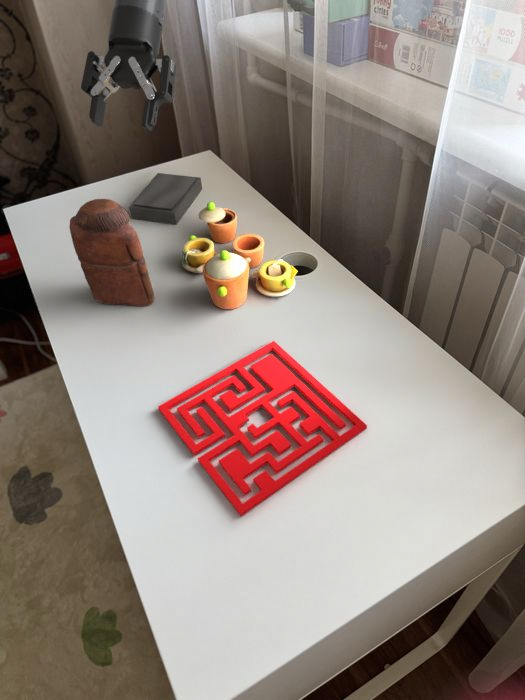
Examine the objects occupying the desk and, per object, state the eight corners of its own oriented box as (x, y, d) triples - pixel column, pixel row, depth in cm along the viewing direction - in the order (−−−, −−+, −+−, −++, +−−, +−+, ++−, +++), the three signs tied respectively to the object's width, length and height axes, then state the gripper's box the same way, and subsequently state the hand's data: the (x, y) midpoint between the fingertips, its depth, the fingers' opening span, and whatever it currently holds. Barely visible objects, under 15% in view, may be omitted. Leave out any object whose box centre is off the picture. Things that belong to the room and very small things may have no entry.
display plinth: (131, 218, 108) (127, 205, 106) (160, 184, 117) (157, 171, 115) (176, 224, 106) (174, 211, 104) (202, 189, 115) (200, 176, 113)
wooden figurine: (163, 285, 93) (141, 191, 80) (153, 310, 88) (127, 215, 75) (99, 281, 94) (67, 189, 81) (86, 305, 90) (49, 212, 77)
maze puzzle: (158, 409, 74) (157, 406, 73) (274, 343, 81) (273, 340, 81) (241, 516, 62) (240, 514, 62) (366, 428, 70) (367, 425, 69)
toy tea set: (308, 291, 90) (308, 243, 83) (226, 327, 85) (219, 279, 78) (233, 221, 106) (228, 175, 99) (161, 247, 101) (151, 202, 94)
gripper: (82, 1, 78) (65, 112, 79) (171, 3, 75) (152, 120, 76) (109, 30, 86) (93, 132, 87) (191, 33, 82) (174, 139, 83)
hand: (121, 126), depth 81 cm, fingers open, 8 cm apart
